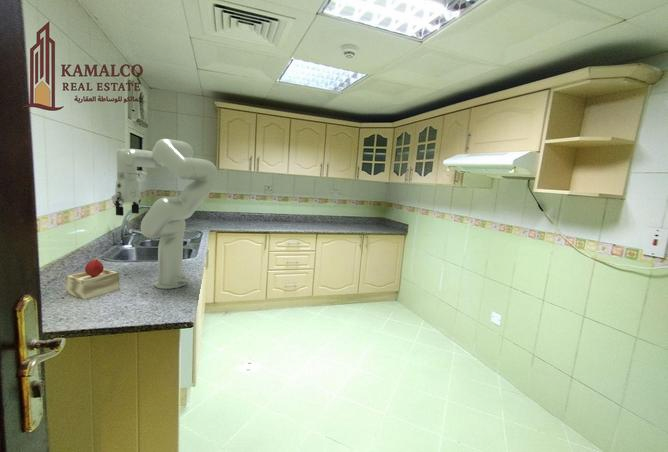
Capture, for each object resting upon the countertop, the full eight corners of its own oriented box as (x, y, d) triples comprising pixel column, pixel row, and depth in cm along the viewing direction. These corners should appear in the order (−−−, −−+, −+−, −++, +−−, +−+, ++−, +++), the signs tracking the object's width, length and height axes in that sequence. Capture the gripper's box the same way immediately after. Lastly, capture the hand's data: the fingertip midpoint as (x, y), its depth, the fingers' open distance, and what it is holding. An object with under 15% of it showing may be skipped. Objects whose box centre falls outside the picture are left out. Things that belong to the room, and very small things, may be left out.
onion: (80, 278, 121) (83, 258, 120) (89, 273, 127) (92, 254, 126) (96, 281, 122) (99, 261, 121) (105, 276, 128) (108, 257, 127)
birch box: (119, 290, 130) (118, 272, 129) (84, 300, 118) (84, 281, 117) (101, 285, 134) (100, 268, 133) (66, 294, 122) (65, 275, 121)
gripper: (120, 177, 134) (121, 217, 136) (147, 177, 151) (148, 213, 153) (103, 176, 135) (105, 215, 137) (133, 176, 152) (133, 211, 154)
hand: (127, 214), depth 145 cm, fingers open, 9 cm apart
